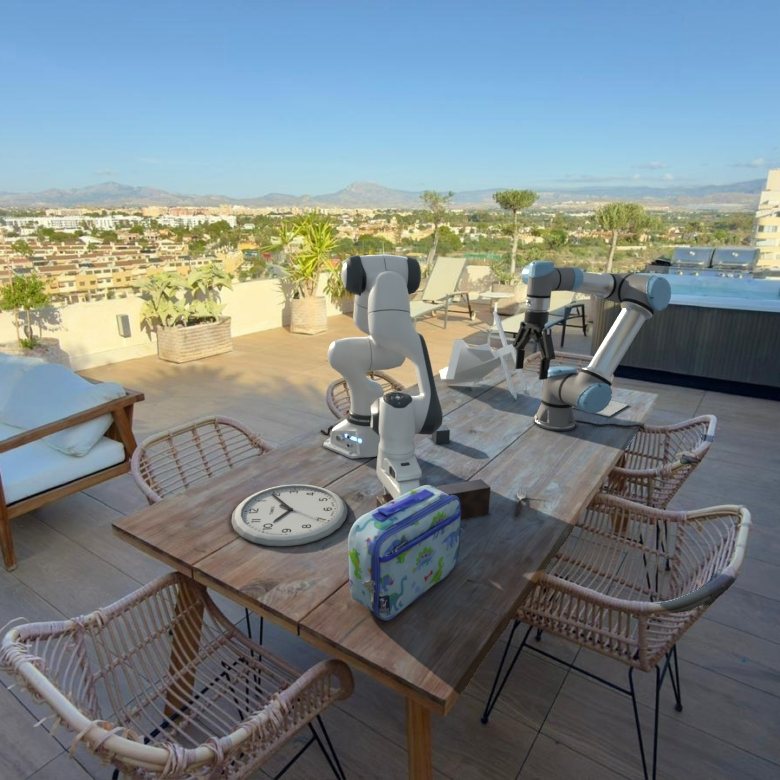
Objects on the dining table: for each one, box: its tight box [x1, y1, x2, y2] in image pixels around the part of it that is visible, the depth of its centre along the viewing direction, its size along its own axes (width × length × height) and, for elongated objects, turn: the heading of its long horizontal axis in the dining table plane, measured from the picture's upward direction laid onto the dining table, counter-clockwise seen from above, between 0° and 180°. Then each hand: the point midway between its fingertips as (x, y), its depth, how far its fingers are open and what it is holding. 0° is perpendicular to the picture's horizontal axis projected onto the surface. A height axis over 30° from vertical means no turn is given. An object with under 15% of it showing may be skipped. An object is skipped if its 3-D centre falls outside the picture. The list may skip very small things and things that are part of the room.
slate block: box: [431, 424, 451, 445], centre depth 186 cm, size 5×5×5 cm
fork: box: [515, 484, 528, 518], centre depth 145 cm, size 3×16×2 cm, turn 160°
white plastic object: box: [438, 310, 531, 400], centre depth 245 cm, size 37×45×31 cm
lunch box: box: [347, 484, 462, 621], centre depth 107 cm, size 26×11×21 cm, turn 134°
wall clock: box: [231, 483, 348, 547], centre depth 138 cm, size 30×2×30 cm
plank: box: [376, 478, 491, 520], centre depth 136 cm, size 30×5×8 cm, turn 110°
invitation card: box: [573, 400, 629, 418], centre depth 226 cm, size 21×1×15 cm
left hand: (395, 508), depth 132 cm, fingers open, 8 cm apart
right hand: (530, 373), depth 175 cm, fingers open, 13 cm apart
